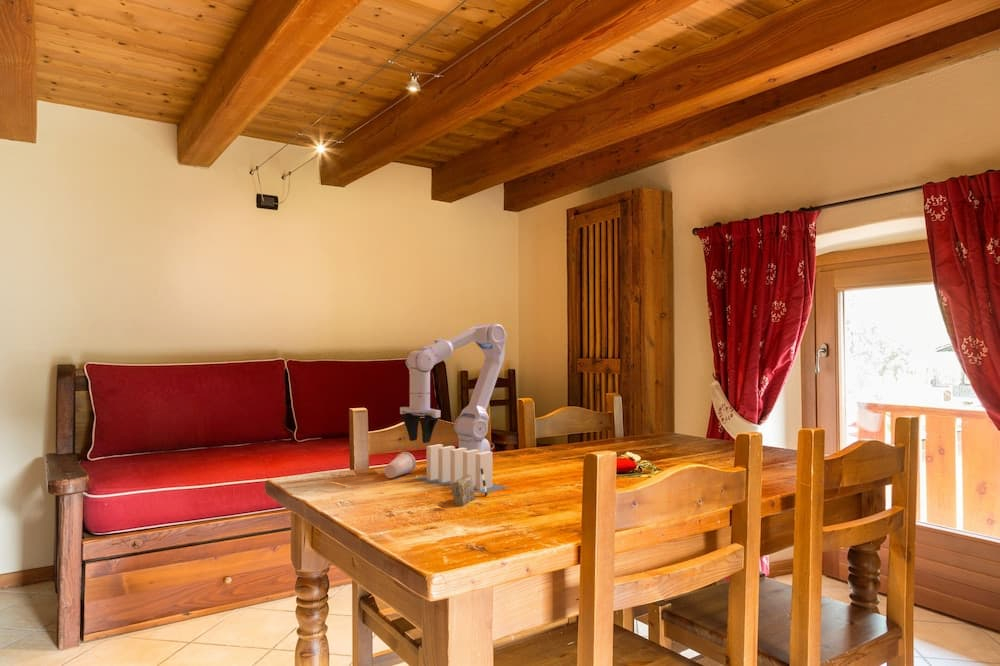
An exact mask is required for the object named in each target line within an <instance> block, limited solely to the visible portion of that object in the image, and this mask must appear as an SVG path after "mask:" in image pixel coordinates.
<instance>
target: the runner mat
mask: <svg viewBox="0 0 1000 666" xmlns="http://www.w3.org/2000/svg"><path fill="white" fill-rule="evenodd" d="M411 480H413V481H417V482H423V483H426V484H427V483H428V484H433V485H437V486H442V487H447V488H451V489H452V484H450V481H446V482H438V478H437V479H433V480H428V479H426V475H425V476H420V477H415V478H411ZM506 488H508V486H507V485H506V486H505V485H502V484H497V483H496V484H495V483H493V487H489V488H486V489H487V494H488V493H491V492H495V491H500V490H502V489H506ZM474 493H475V494H476V493H477V494H482V495H485V492H484V489H482V490H478V489H476V485H474Z"/></svg>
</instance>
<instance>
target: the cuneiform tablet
mask: <svg viewBox="0 0 1000 666" xmlns="http://www.w3.org/2000/svg"><path fill="white" fill-rule="evenodd" d="M480 470H481V475H482V481H483V486H484V492H485V494H484V496H485V497H487V496H488V493H487V489H486V483H485V478H484V472H483V468H481V469H480ZM475 494H476V492H474V486H473V480H472V476H471V475H466V476H464V477H462V478H460V479H458V480H457V481H456V482H454V483H452V488H451V495H452V498H453V501H454V504H455V506H456V507H457V506H458V507H464V506H465V505H467V504H469V502H471V501H473V500H474V499H476V495H475Z"/></svg>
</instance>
